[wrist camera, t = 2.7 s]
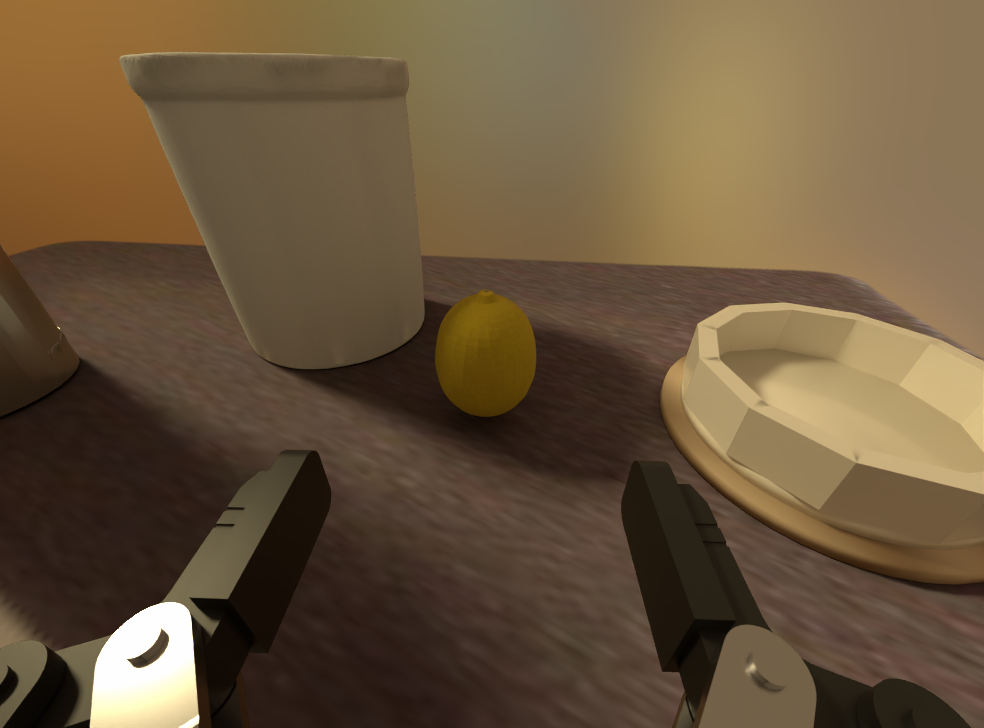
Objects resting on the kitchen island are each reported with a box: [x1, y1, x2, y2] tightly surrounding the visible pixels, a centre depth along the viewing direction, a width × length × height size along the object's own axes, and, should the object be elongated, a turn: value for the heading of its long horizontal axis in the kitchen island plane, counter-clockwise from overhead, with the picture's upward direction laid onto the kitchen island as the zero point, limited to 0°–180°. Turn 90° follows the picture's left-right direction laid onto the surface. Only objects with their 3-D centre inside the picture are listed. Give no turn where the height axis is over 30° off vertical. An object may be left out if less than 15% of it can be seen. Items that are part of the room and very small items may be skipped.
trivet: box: [660, 355, 984, 585], centre depth 23 cm, size 17×17×1 cm
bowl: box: [680, 303, 984, 550], centre depth 22 cm, size 15×15×4 cm
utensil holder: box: [120, 52, 425, 369], centre depth 28 cm, size 15×15×18 cm
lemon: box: [435, 290, 536, 417], centre depth 22 cm, size 6×6×8 cm
